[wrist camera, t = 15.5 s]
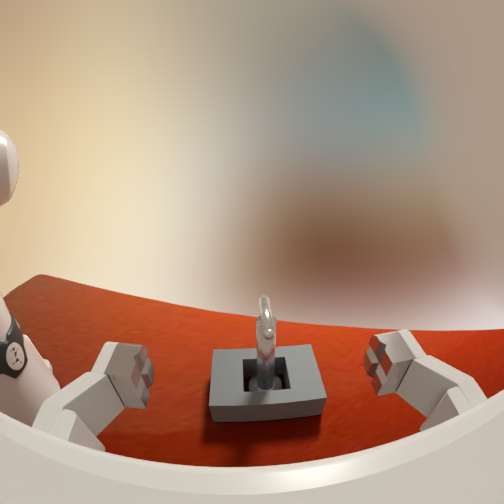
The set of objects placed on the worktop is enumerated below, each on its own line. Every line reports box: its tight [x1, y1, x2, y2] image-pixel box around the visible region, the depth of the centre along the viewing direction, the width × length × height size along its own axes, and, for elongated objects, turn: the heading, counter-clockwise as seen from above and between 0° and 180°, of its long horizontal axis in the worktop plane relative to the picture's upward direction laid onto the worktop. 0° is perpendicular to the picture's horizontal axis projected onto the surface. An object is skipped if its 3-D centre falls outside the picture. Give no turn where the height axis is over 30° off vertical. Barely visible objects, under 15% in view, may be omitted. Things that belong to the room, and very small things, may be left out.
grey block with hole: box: [209, 344, 327, 422], centre depth 34 cm, size 14×10×4 cm
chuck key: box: [249, 296, 282, 392], centre depth 32 cm, size 4×7×14 cm, turn 3°
